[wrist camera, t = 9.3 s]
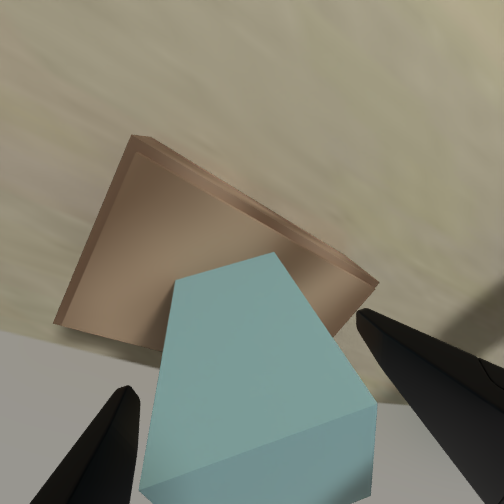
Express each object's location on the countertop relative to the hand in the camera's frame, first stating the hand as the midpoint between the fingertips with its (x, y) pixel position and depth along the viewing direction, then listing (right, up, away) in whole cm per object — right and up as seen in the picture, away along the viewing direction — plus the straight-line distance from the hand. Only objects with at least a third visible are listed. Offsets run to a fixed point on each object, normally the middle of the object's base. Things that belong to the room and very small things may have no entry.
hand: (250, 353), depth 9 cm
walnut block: (-1, +3, +6) cm, 7 cm away
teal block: (-1, +1, +3) cm, 3 cm away
